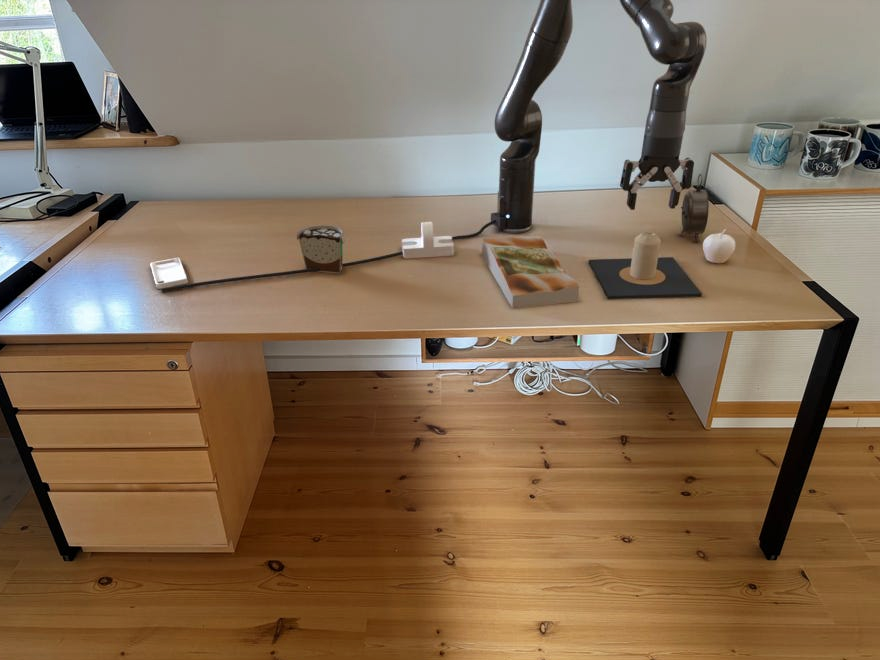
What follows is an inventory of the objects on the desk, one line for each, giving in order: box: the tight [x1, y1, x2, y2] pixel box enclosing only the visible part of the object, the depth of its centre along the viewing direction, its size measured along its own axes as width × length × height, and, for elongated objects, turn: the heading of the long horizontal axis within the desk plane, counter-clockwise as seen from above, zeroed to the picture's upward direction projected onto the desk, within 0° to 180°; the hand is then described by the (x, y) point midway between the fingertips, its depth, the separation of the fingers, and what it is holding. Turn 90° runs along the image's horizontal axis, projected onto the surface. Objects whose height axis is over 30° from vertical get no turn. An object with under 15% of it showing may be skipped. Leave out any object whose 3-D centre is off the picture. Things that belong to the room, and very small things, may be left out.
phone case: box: [150, 257, 189, 290], centre depth 167 cm, size 7×1×15 cm
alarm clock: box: [679, 173, 710, 243], centre depth 170 cm, size 11×5×16 cm, turn 168°
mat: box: [588, 256, 703, 300], centre depth 153 cm, size 20×20×1 cm
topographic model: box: [481, 235, 580, 309], centre depth 156 cm, size 30×14×5 cm, turn 7°
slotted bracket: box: [401, 221, 455, 259], centre depth 171 cm, size 13×7×8 cm, turn 93°
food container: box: [296, 224, 346, 275], centre depth 165 cm, size 12×6×10 cm, turn 71°
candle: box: [630, 231, 662, 280], centre depth 150 cm, size 6×6×10 cm
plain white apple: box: [702, 228, 736, 264], centre depth 158 cm, size 7×7×8 cm
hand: (651, 208), depth 145 cm, fingers open, 8 cm apart
